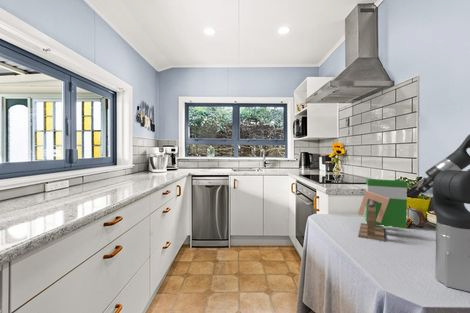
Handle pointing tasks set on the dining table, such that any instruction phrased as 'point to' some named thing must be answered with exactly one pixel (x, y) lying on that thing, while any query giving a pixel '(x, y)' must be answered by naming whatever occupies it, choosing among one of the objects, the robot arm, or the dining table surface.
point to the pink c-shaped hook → (378, 199)
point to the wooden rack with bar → (371, 225)
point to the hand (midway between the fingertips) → (408, 195)
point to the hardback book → (390, 201)
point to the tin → (417, 217)
